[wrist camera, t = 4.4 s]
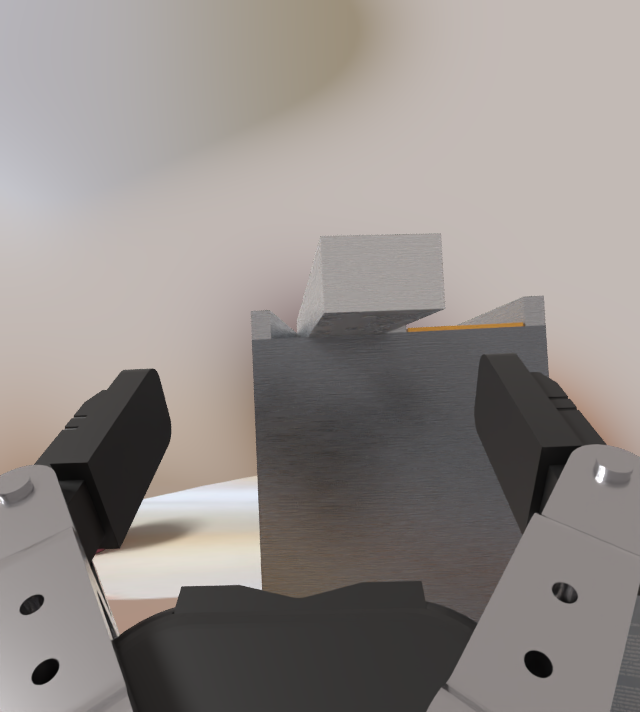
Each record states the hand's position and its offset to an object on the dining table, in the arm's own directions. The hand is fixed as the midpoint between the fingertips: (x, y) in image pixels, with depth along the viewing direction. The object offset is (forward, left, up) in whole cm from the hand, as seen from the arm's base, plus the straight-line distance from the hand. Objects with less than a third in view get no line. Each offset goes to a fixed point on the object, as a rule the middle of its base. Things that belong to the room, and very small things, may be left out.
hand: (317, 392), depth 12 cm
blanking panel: (-11, +11, +2) cm, 16 cm away
